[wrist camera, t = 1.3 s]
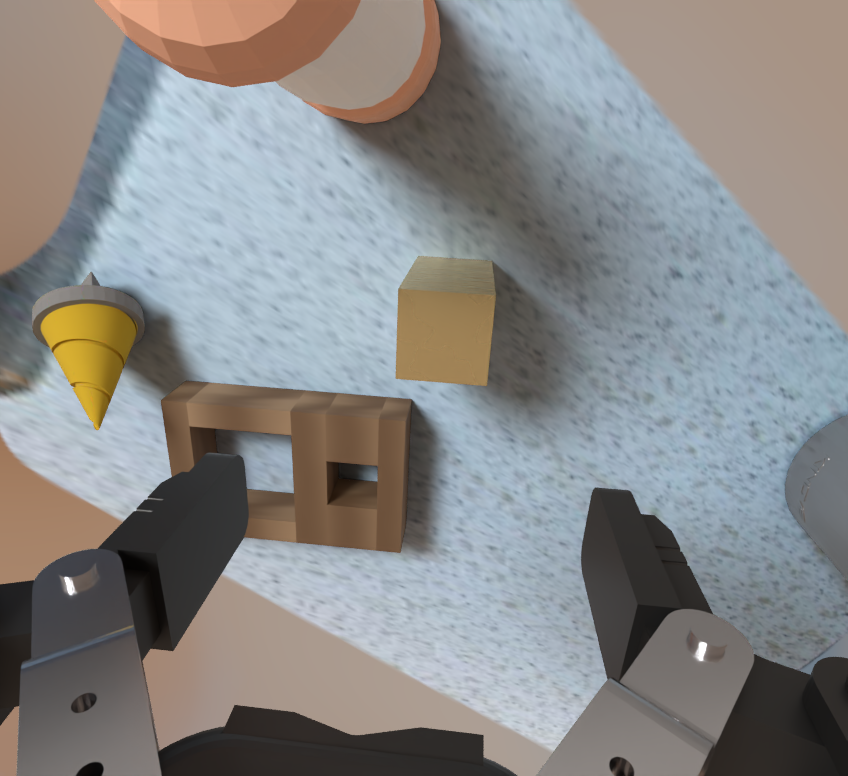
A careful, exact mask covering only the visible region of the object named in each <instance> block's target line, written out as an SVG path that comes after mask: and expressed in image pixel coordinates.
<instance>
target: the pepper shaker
mask: <svg viewBox="0 0 848 776" xmlns="http://www.w3.org/2000/svg"><path fill="white" fill-rule="evenodd" d="M94 1H95V2H96V3H97V4H98V5H99V6H100V7H101V8H102V9H103V10H104V11H105V13H106V14H107V15H108V16H109V17H110V18H111V19H112V20H113V21H114V22H115V23H116V24H117V25H118V26H119V28H121V30H122V31H123V32H124V33H125V34H126V35H127V36H128V37H129V38H130V39H131V40H132V41H133V42H134V43H135V44H136V45H137V46H138V47H140V48H141V49H142V50H143V51H145V52H146V53H148V54H149V55H151V56H153V57H154V58H156V59H158V60H159V61H161V62H163V63H164V64H166V65H168V66H169V67H171V68H173V69H174V70H176V71H178V72H179V73H181V74H183V75H184V76H186V77H189V78H194V79H198V80H203V81H207V82H212V83H216V84H221V85H225V86H229V87H237V86H244V85H252V84H259V83H266V82H273V81H275V82H276V83H277V84H278V85H279V86H281V87H282V88H284V89H286V90H287V91H289V92H291V93H292V94H294V95H295V96H297V97H299V98H300V99H302V100H303V101H304V102H305V103H307V104H309V105H310V106H312V107H314V108H315V109H317V110H318V111H320V112H322V113H323V114H325V115H328V116H332V117H336V118H341V119H345V120H349V121H354V122H358V123H363V124H367V123H375V122H382V121H387V120H389V119H391V118H393V117H395V116H397V115H399V114H401V113H403V112H405V111H407V110H408V109H409V108H410V107H411V106H412V105H413V104H414V103H415V102H416V101H417V100H418V99H419V98H420V97H421V95H422V94H423V93H424V92H425V90H426V88H427V86H428V84H429V82H430V80H431V78H432V76H433V74H434V72H435V70H436V66H437V61H438V55H439V50H440V45H441V37H440V25H439V14H438V11H437V7H436V4H435V1H434V0H94Z"/></svg>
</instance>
